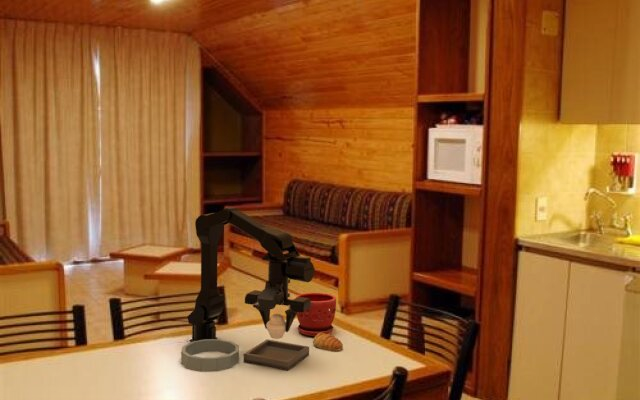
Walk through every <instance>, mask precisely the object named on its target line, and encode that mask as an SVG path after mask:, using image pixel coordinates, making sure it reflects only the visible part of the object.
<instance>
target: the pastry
mask: <svg viewBox="0 0 640 400" xmlns="http://www.w3.org/2000/svg"><path fill="white" fill-rule="evenodd" d="M312 344H313V345H314V347H316V348H317V349H320V350H325V351H328V352H338V351H341V350H343V347H344V344H343V343H342V341H341V340H340V339H338V338H337V337H335V336H334V335H333V334H331V333H330V334H325V333H318V334H317V335H316V336H314V337H313V340H312Z"/></svg>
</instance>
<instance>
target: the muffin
mask: <svg viewBox="0 0 640 400" xmlns="http://www.w3.org/2000/svg"><path fill="white" fill-rule="evenodd" d="M266 327H267V329H266V330H267V331H268V334H269V336H270V338H271V339H272V340H279V339H282V338H283V337H284V336H285V333H287V332H286V319H285V318H284V316H283V314H280V313H274V314H272V315H270V321H268V322H267V324H266Z"/></svg>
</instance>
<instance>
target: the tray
mask: <svg viewBox="0 0 640 400" xmlns="http://www.w3.org/2000/svg"><path fill="white" fill-rule="evenodd" d="M308 356H310V346H306V345H300V344H296V343H291V342H290V343H289V342H284V341H279V340H275V339H272V340H271V339H269V338H268V339H265V340H263V341H262V342H260V343H259V344H257V345H256V346H254V347H252V348H250V349H249V350H248V351H246V352H244V353H243V363H244V364H250V365H255V366H260V367H265V368H271V369H275V370H279V371H280V370H281V371H285V370H286V371H285V372H288V370H289V371H290V370H291V369H293V368H294V367H295V366H297V365H298V364H299V363H300V362H302V361H303V360H304V359H306V358H307V357H308ZM296 364H297V365H296ZM292 367H293V368H292Z"/></svg>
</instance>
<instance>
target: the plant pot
mask: <svg viewBox="0 0 640 400" xmlns="http://www.w3.org/2000/svg"><path fill="white" fill-rule="evenodd" d="M297 297H304V298H309V299H310V301H311V308H310V309H308V310H306V311H305V312H298V313H297V314H296V318H297V321H298V324H299V325H297V330H298V332H299V333H301V334H303V335H304V336H309V337H315V336H316V335H317V334H318V333H325V334H330V335H331V333H332V332H333V331H334V326H333V322H334V320H335V316H336V309H337V298H336V296H334V295H333V294H329V293H323V292H306V293H300V294H298V295H297V296H295V298H297Z"/></svg>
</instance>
